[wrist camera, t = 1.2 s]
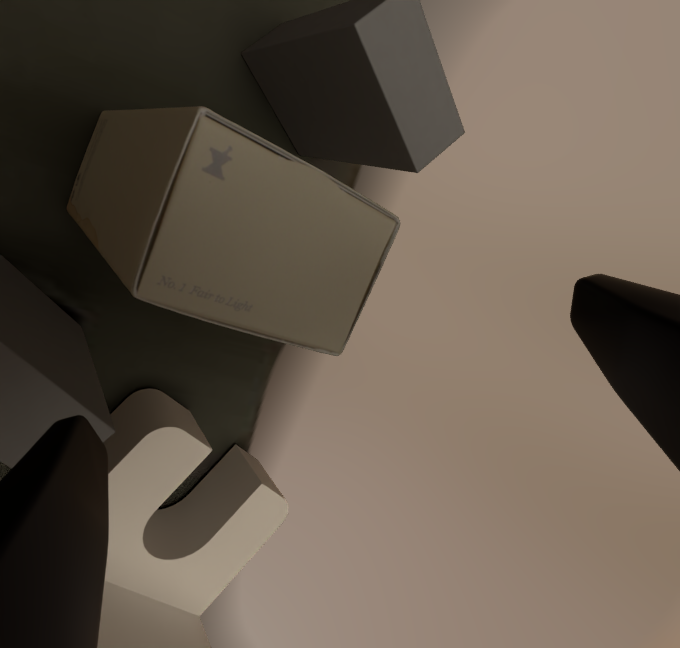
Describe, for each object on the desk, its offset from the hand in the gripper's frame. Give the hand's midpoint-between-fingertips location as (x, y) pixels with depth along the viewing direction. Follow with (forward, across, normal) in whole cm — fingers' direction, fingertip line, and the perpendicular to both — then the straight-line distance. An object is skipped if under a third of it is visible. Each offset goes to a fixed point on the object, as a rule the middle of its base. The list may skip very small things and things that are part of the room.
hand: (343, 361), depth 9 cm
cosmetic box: (+16, +5, +1) cm, 16 cm away
